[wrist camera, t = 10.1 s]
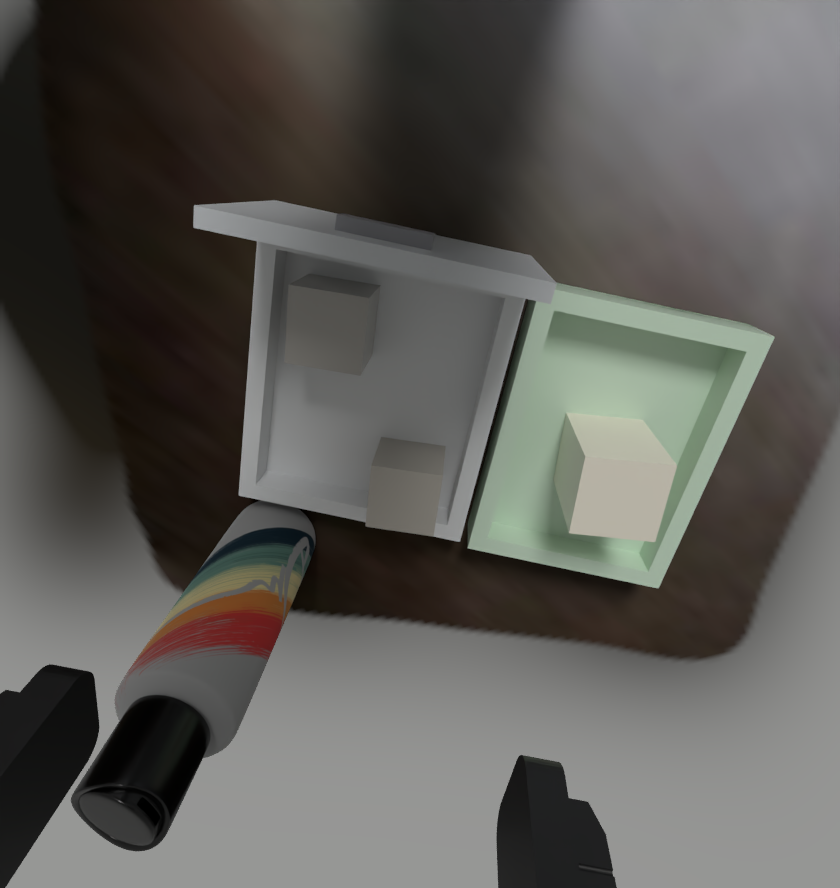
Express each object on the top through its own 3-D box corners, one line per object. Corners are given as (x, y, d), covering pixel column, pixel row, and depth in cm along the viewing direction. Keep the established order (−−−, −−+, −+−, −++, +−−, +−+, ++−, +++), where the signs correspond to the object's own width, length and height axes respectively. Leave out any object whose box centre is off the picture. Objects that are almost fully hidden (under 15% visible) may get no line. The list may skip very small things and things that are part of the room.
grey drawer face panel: (276, 188, 30) (194, 188, 21) (533, 243, 31) (561, 267, 22) (274, 216, 31) (193, 227, 22) (526, 270, 31) (550, 304, 22)
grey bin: (273, 221, 31) (258, 224, 29) (525, 276, 31) (529, 282, 29) (252, 476, 38) (238, 495, 36) (460, 520, 38) (459, 542, 36)
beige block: (566, 412, 33) (585, 456, 28) (642, 419, 33) (677, 465, 28) (553, 479, 35) (568, 533, 30) (626, 486, 35) (655, 542, 29)
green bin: (534, 278, 31) (540, 286, 29) (748, 323, 31) (774, 336, 29) (467, 522, 38) (467, 548, 35) (644, 559, 38) (658, 588, 35)
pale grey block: (381, 437, 35) (371, 465, 32) (445, 446, 35) (442, 475, 32) (375, 493, 37) (365, 526, 33) (436, 502, 37) (433, 536, 33)
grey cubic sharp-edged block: (309, 273, 32) (288, 284, 28) (380, 285, 32) (369, 297, 28) (304, 343, 33) (284, 362, 30) (372, 355, 33) (360, 375, 30)
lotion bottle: (331, 553, 40) (216, 862, 22) (261, 576, 41) (96, 886, 23) (293, 486, 38) (130, 762, 20) (220, 512, 39) (4, 794, 21)
